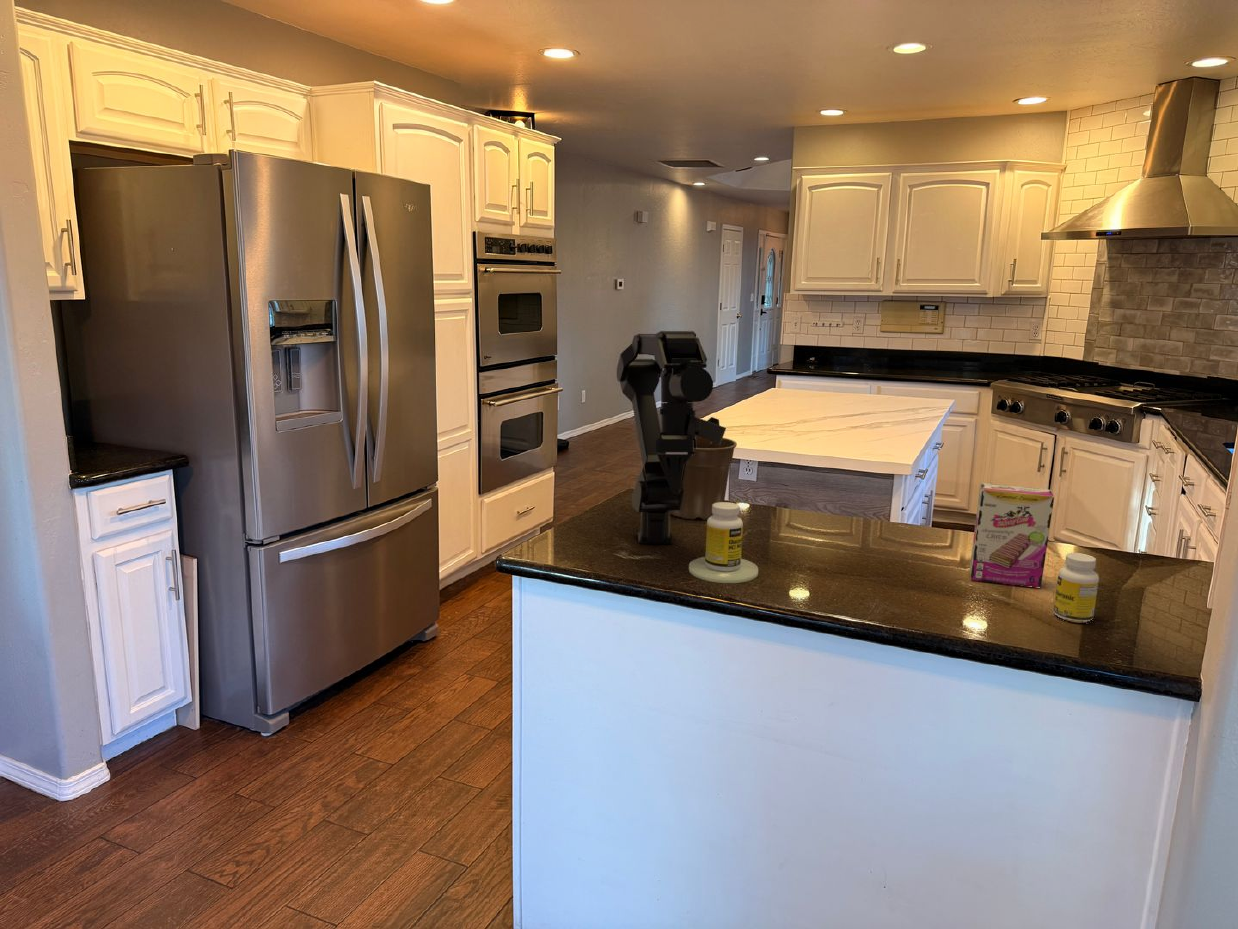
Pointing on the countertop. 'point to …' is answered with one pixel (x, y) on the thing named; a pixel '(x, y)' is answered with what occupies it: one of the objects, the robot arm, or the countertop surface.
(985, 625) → the countertop surface
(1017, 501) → the candy bar box
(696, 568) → the disc
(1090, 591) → the supplement bottle
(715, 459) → the plant pot
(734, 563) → the pill bottle
